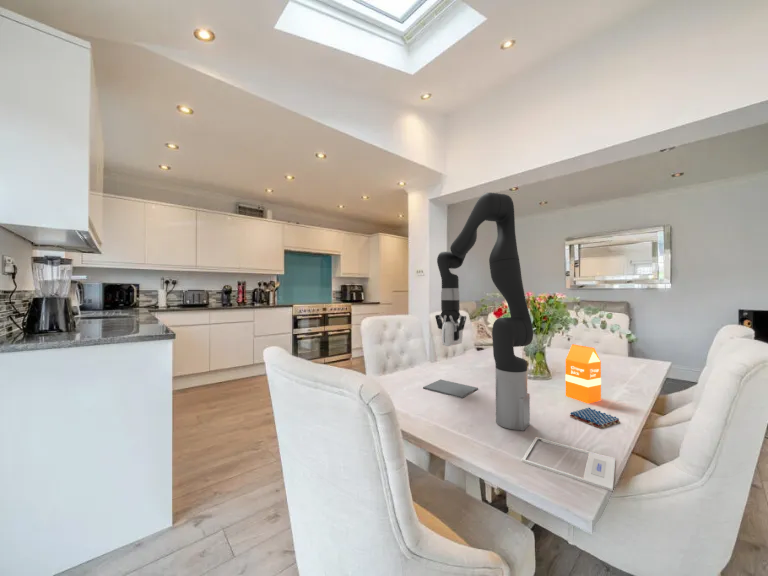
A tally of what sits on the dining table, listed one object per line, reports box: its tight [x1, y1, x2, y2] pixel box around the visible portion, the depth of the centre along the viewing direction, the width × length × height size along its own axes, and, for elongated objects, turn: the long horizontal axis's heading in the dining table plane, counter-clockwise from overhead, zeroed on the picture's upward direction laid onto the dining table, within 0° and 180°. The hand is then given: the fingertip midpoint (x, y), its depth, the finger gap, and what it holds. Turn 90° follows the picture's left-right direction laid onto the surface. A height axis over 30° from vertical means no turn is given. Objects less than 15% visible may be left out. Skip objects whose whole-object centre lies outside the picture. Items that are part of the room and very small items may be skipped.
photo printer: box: [441, 319, 464, 347], centre depth 131 cm, size 10×4×12 cm
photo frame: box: [521, 436, 616, 492], centre depth 76 cm, size 15×1×18 cm
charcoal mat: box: [422, 379, 479, 399], centre depth 130 cm, size 18×14×1 cm
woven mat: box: [569, 407, 621, 430], centre depth 100 cm, size 10×11×2 cm
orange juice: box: [564, 344, 602, 404], centre depth 118 cm, size 8×9×20 cm
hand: (450, 339), depth 130 cm, fingers closed on photo printer, 4 cm apart
